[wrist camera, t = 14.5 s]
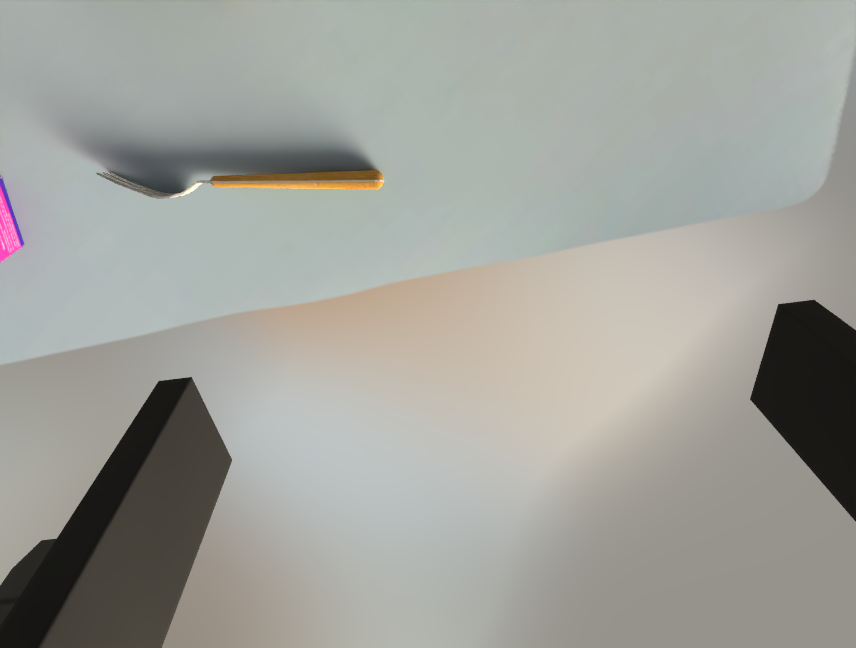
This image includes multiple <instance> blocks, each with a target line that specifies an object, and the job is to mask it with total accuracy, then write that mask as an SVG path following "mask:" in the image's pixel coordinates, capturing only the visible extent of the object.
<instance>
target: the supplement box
mask: <svg viewBox="0 0 856 648" xmlns="http://www.w3.org/2000/svg"><path fill="white" fill-rule="evenodd" d="M23 246H24V242H23V239H22V237H21V233H20V231H19V228H18V225H17V222H16V219H15V216H14V213H13V210H12V207H11V204H10V201H9V198H8V194H7V191H6V188H5V184H4V181H3V178H2V176H0V262H1V261H3V260H4V259H6V258H7V257H9V256H10V255H11V254H13V253H14V252H16V251H17V250H19V249H20V248H22V247H23Z"/></svg>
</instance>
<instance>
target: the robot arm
mask: <svg viewBox="0 0 856 648" xmlns="http://www.w3.org/2000/svg"><path fill="white" fill-rule="evenodd" d="M750 400H751V401H752V402H753V403H754V404H755V405H756V407H757V408H758V409H759V410H760V411H761V412H762V413H763V415H764V416H765V417H766V418H767V419H768V420H769V422H770V423H771V424H772V425H773V426H774V427H775V429H776V430H777V431H778V432H779V433H780V434H781V435H782V436H783V438H784V439H785V440H786V441H787V442H788V444H789V445H790V446H791V447H792V448H793V449H794V450H795V452H796V453H797V454H798V455H799V456H800V457H801V458H802V460H803V461H804V462H805V463H806V464H807V466H808V467H809V468H810V469H811V470H812V471H813V472H814V474H815V475H816V476H817V477H818V478H819V479H820V481H821V482H822V483H823V484H824V485H825V486H826V488H827V489H828V490H829V491H830V492H831V493H832V495H833V496H834V497H835V498H836V499H837V500H838V501H839V503H840V504H841V505H842V506H843V507H844V508H845V510H846V511H847V512H848V513H849V514H850V515H851V516H852V518H853V519H854V520H855V521H856V330H855V329H853V328H852V327H850V326H849V325H848V324H846V323H845V322H844V321H842V320H841V319H840V318H838V317H837V316H836V315H834V314H833V313H831V312H830V311H829V310H827V309H826V308H824V307H823V306H822V305H820V304H819V303H818V302H816V301H815V300H809V301H801V302H793V303H785V304H778V307H777V311H776V314H775V317H774V321H773V324H772V328H771V331H770V334H769V338H768V342H767V344H766V348H765V351H764V355H763V358H762V361H761V365H760V368H759V372H758V375H757V378H756V381H755V385H754V388H753V391H752V395H751V398H750ZM231 462H232V459H231V457H230V455H229V453H228V451H227V449H226V446H225V445H224V442H223V440H222V438H221V436H220V434H219V432H218V430H217V428H216V426H215V424H214V422H213V420H212V418H211V416H210V414H209V412H208V410H207V408H206V406H205V404H204V402H203V400H202V398H201V395H200V393H199V391H198V390H197V387H196V385H195V383H194V381H193V379H192V377H189V378H181V379H173V380H165V381H159V382H158V383H157V385H156V386H155V388H154V389H153V391H152V392H151V394H150V396H149V397H148V399H147V400H146V402H145V403H144V405H143V407H142V408H141V410H140V411H139V413H138V414H137V416H136V417H135V419H134V420H133V422H132V424H131V425H130V427H129V428H128V430H127V431H126V433H125V434H124V436H123V437H122V439H121V440H120V442H119V444H118V445H117V447H116V448H115V450H114V451H113V453H112V454H111V456H110V457H109V459H108V461H107V462H106V464H105V465H104V467H103V468H102V470H101V471H100V473H99V475H98V476H97V477H96V479H95V481H94V482H93V484H92V485H91V487H90V488H89V490H88V492H87V493H86V495H85V496H84V498H83V499H82V501H81V502H80V504H79V506H78V507H77V508H76V510H75V512H74V513H73V515H72V516H71V518H70V520H69V521H68V523H67V524H66V525H65V527H64V529H63V530H62V532H61V533H60V535H59V536H58V538H57V539H50V540H42V541H41V542H40V543H39V544H38V545H36V547H34V548H33V550H31V551H30V552H29V553H28V554H27V555H26V556H25V557H24V558H23V559H22V560H21V561H20V562H19V563H18V564H17V565H16V566H14V567H13V568H12V570H11V571H10V572H9V574H8V576H7V577H6V578H5V580H4V581H3V583H2V584H1V585H0V648H162V645H163V643H164V640H165V637H166V635H167V632H168V629H169V626H170V624H171V621H172V619H173V616H174V613H175V611H176V608H177V605H178V603H179V600H180V597H181V595H182V592H183V589H184V587H185V584H186V582H187V579H188V576H189V573H190V571H191V568H192V565H193V563H194V560H195V558H196V555H197V552H198V550H199V547H200V544H201V542H202V539H203V536H204V533H205V531H206V528H207V526H208V523H209V520H210V518H211V515H212V512H213V510H214V507H215V504H216V502H217V499H218V497H219V494H220V491H221V488H222V486H223V483H224V480H225V478H226V475H227V473H228V470H229V467H230V465H231Z"/></svg>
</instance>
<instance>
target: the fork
mask: <svg viewBox="0 0 856 648" xmlns="http://www.w3.org/2000/svg"><path fill="white" fill-rule="evenodd" d="M109 173H110V174H111V175H110V174H108V173H104V172H103V174H104V175H106V176H104V175H102V174H100V173H96V174H97V175H100V176H102V177H104V178H106V179H108V180H110V181H112V182H114V183H116V184H119V185H121V186H124V187H126V188H129V189H131V190H134V191H137V192H139V193H142V194H144V195H147V196H149V197H152V198H157V199H162V198H173V197H180V196H184V195H186V194H188V193H191V192H193V191H194V190H195V189H196V188H197V187H198V186H200V185H201V184H202V183H211V185H212V186H213V187H228V188H306V189H379V188H381V186H382V185H383V181H384V179H383V176H382V174H381V173H380V172H379V171H377V170H367V171H340V172H312V173H284V174H257V175H229V176H213V177H212V178H211V180H210V181H197V182H196V183H194V184H193V185H191V186H190V187H189V188H187V189H186V190H184V191H183V192H181V193H164V192H160V191H157V190H153V189H150V188H147V187H144V186H141V185H138V184H136V183H133V182H130V181H128V180H126V179H124V178H122V177H119V176H117V175H115V174H113V173H111V172H109ZM112 175H113V176H112ZM107 176H108V177H107ZM114 176H115V177H114ZM109 177H110V178H109ZM116 177H117V178H116ZM111 178H112V179H111ZM119 178H120V179H119ZM113 179H114V180H113ZM121 179H122V180H121ZM123 180H124V181H123ZM125 181H126V182H125Z"/></svg>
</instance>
